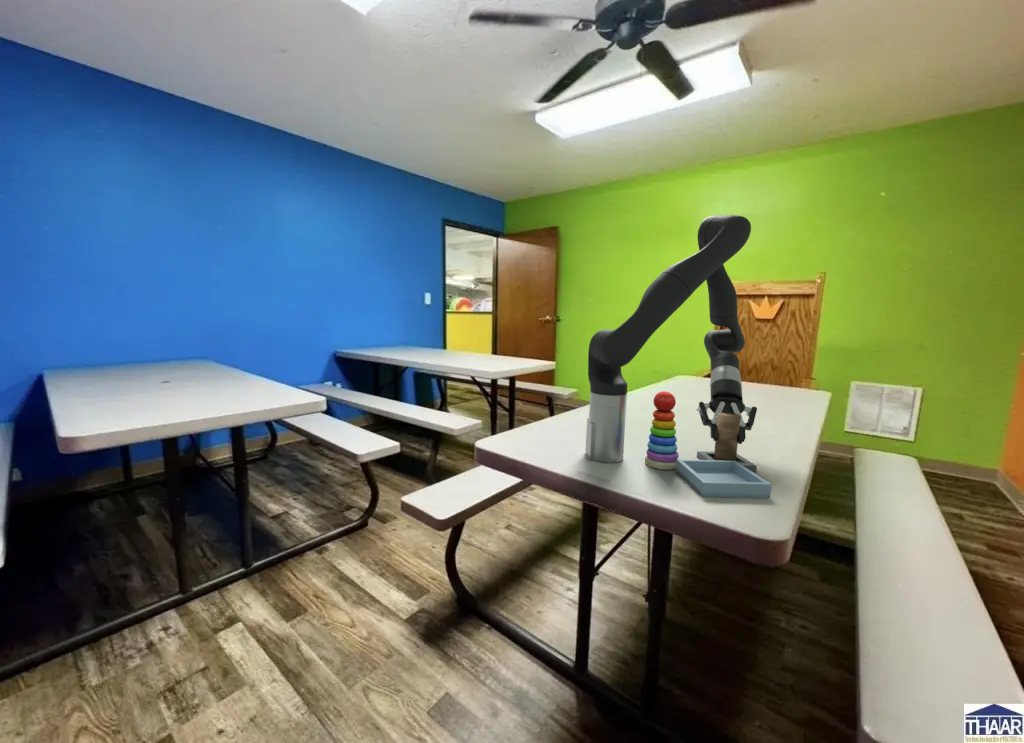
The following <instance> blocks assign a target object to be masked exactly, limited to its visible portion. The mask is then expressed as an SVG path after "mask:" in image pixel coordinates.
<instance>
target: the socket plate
mask: <svg viewBox="0 0 1024 743" xmlns="http://www.w3.org/2000/svg"><path fill="white" fill-rule="evenodd" d="M696 458H697V459H698V460H714V451H697V452H696ZM736 462H738V463H739V464H741V465H742V466H744V467H746V468H747V469H749V470H750V471H752V472H753V473H755V472H757V470H758V466H757V465H756V464H755V463H753V462H751V461H750V460H748V459H746V458H744V457H743V456H742V455H740V454H738V453H737V456H736Z"/></svg>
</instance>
